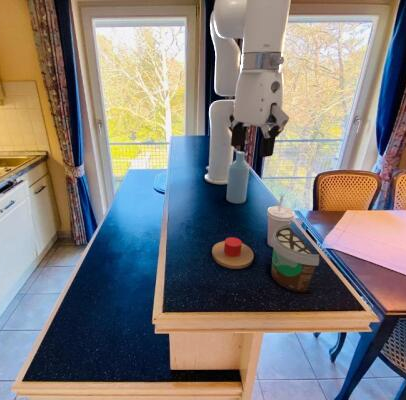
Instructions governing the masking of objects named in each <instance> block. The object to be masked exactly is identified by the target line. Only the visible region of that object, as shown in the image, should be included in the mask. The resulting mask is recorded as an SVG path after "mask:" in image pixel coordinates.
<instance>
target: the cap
mask: <svg viewBox="0 0 406 400" xmlns="http://www.w3.org/2000/svg"><path fill="white" fill-rule="evenodd" d="M224 241H225V246H224V252H225V254H226V255H228V256H230V257H237V256H239V255H240V254H241V246H242V243H243V242H242V240H241V239H239V238H237V237H227V238H225V240H224Z"/></svg>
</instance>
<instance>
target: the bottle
mask: <svg viewBox="0 0 406 400" xmlns="http://www.w3.org/2000/svg"><path fill="white" fill-rule="evenodd" d="M249 176H250V166H249V164H248V163H247V161H245V151H236V153H235V160H233V162H232V164H230V166H229V172H228V184H226V185H227V186H226V199H225V200H226V201H227V202H228V203H232V204H243V203H245V202H246V200H247V193H248V186H249V185H248V184H249Z"/></svg>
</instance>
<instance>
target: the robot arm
mask: <svg viewBox="0 0 406 400" xmlns="http://www.w3.org/2000/svg"><path fill="white" fill-rule="evenodd" d="M291 1H292V0H214V5H213V10H212V12H211V14H210V19H209V22H210V23H209V27H210V35H211V40H212V43H213V46H214V47H213V48H214V51H215V63H214V64H215V65H214V92H215V94H216V95H218V96H220V97H234V99H219V100H216V101H213V102H212V103H211V104H210V106H209V111H208V116H209V128H210V129H209V131H210V134H209V136H210V137H209V156H208V166H206V167H205V169H206V170H207V173H206V174H204V180H205V181H206V182H207V183H210V184H214V185H227V184H228V172H229V166H230V164H232V163H233V162H234V150H235V149H234V148H235V147H239V146H240V147H241V146H243V145H244V141H245V140H244V139H245V132H246V129H245V127H250V126H254V127H257V128H258V127H260V129H261V133H262V135H263V136H262V137H261V139H260V145H259V153H258V157H260V158H267V157H268V158H269V157H272V156H273V155H274V150H275V143H276V139H277V138H279V135H280V134H281V133H282V132H283V131H284V129H285V127H286V125H287V124H288V122H289V120H290V117H289V115H288V114H286V113H285V111H284V110H283V102H284V87H285V86H284V84H285V83H284V72H281V69H282V65H283V64H284V62H285V58H284V56H283V55H284V54H283V53H284V48H285V41H286V35H287V28H288V22H289V15H290V7H291ZM235 39H242V40H243V41H242V49H240V46H239V45H238V43H237V42H236V41H235ZM229 128H231V129H229Z"/></svg>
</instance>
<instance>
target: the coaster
mask: <svg viewBox="0 0 406 400" xmlns="http://www.w3.org/2000/svg"><path fill="white" fill-rule="evenodd" d="M224 246H225V240H222V241H219V242H217V243H215V244H214V245H213V247H212V249H211V257H212V259H213V260H214V262H215V263H216V264H218V265H220V266H222V267H224V268H227V269H232V270H233V269H234V270H239V269H245V268H247V267H249V266H251V265H252V264H253V261H254V258H255V257H254V256H255V254H254V252H253V250H252V249H251V248H250V246H248V245H246V244H245V243H243V242H242V246H241V254H240V255H239V256H237V257H230V256H228V255H226V254H225V252H224Z"/></svg>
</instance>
